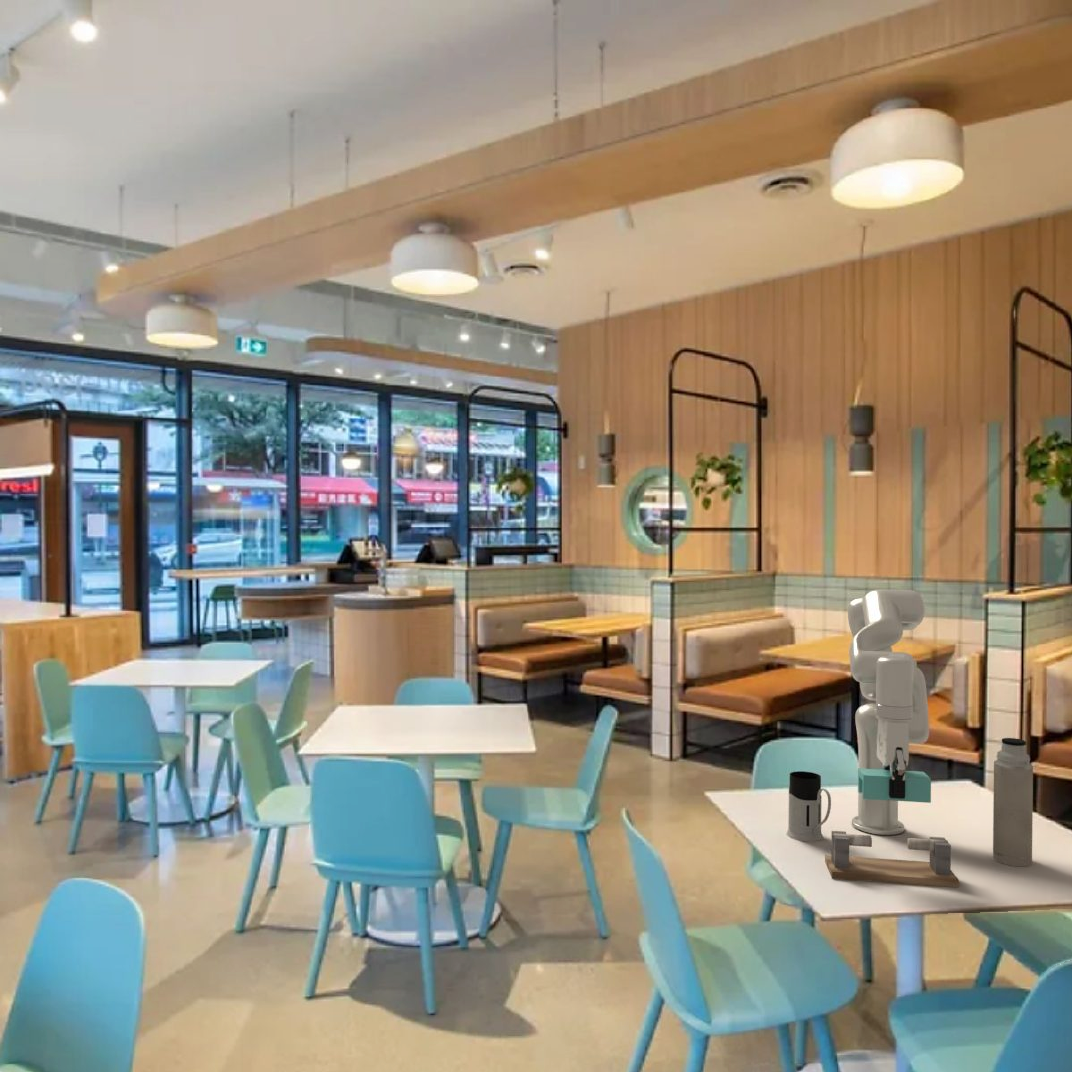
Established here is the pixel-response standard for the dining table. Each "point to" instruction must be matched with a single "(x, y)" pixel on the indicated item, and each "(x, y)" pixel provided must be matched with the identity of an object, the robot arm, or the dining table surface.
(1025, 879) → the dining table surface
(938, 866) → the shaft stand
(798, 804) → the glass holder
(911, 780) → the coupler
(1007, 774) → the thermos bottle
